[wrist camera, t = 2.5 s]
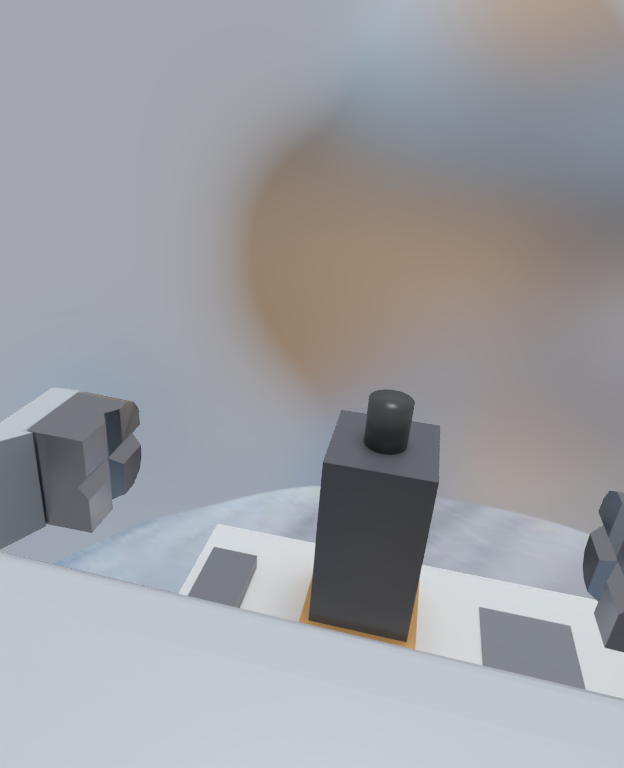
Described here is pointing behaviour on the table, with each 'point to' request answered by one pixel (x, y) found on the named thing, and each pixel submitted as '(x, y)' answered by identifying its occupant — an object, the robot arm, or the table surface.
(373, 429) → the plug
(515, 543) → the table surface
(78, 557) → the table surface
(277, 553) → the power strip
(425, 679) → the robot arm
